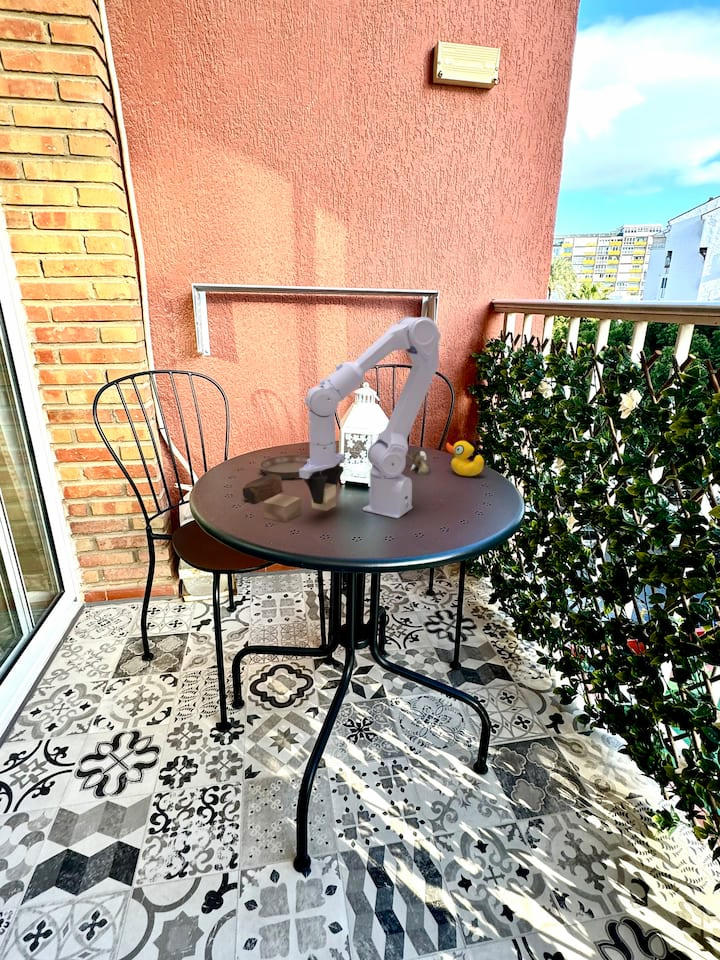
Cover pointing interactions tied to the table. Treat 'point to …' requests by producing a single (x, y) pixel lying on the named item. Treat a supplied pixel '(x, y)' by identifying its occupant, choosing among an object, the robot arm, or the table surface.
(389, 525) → the table surface
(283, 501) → the tan wooden block
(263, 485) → the brick
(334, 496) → the beech block
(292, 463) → the plant saucer
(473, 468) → the duckling
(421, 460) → the eagle figurine
